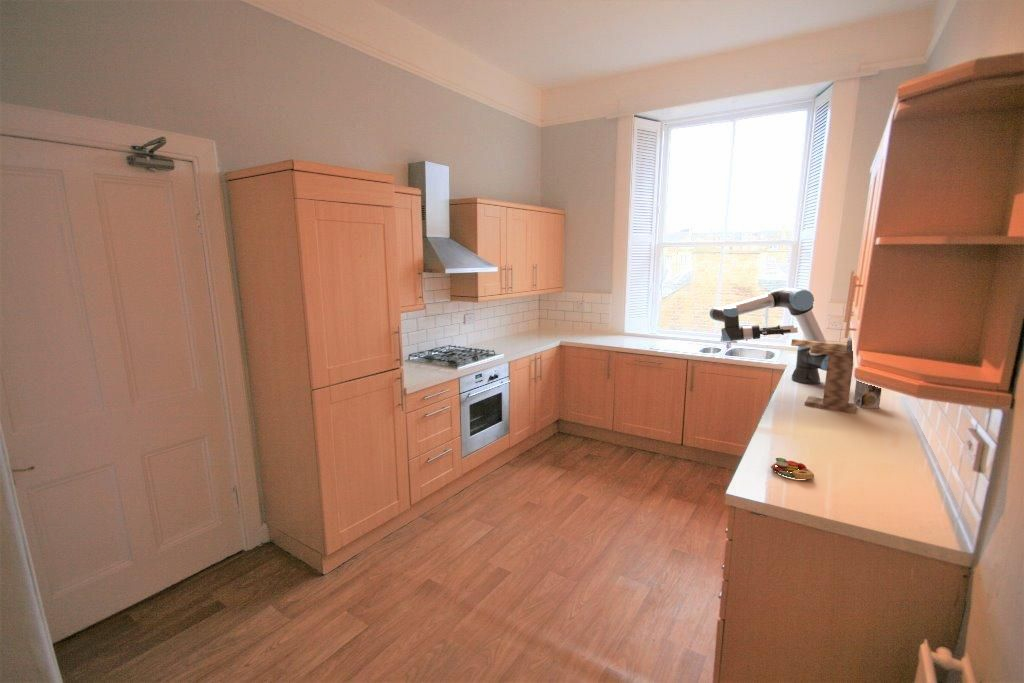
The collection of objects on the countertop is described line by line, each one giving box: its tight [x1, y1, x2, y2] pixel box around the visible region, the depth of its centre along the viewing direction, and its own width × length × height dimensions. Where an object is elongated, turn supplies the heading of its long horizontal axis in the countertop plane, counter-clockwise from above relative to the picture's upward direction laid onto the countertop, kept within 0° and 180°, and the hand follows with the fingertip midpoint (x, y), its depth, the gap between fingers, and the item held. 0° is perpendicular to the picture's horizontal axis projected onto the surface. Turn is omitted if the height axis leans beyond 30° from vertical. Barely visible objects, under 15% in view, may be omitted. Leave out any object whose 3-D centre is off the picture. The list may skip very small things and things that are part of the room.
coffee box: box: [853, 379, 882, 409], centre depth 237 cm, size 9×6×16 cm
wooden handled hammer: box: [790, 337, 853, 353], centre depth 236 cm, size 30×10×6 cm, turn 50°
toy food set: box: [770, 457, 815, 480], centre depth 166 cm, size 13×13×3 cm
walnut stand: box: [804, 348, 858, 414], centre depth 236 cm, size 21×12×30 cm, turn 49°
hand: (795, 328), depth 250 cm, fingers open, 13 cm apart
